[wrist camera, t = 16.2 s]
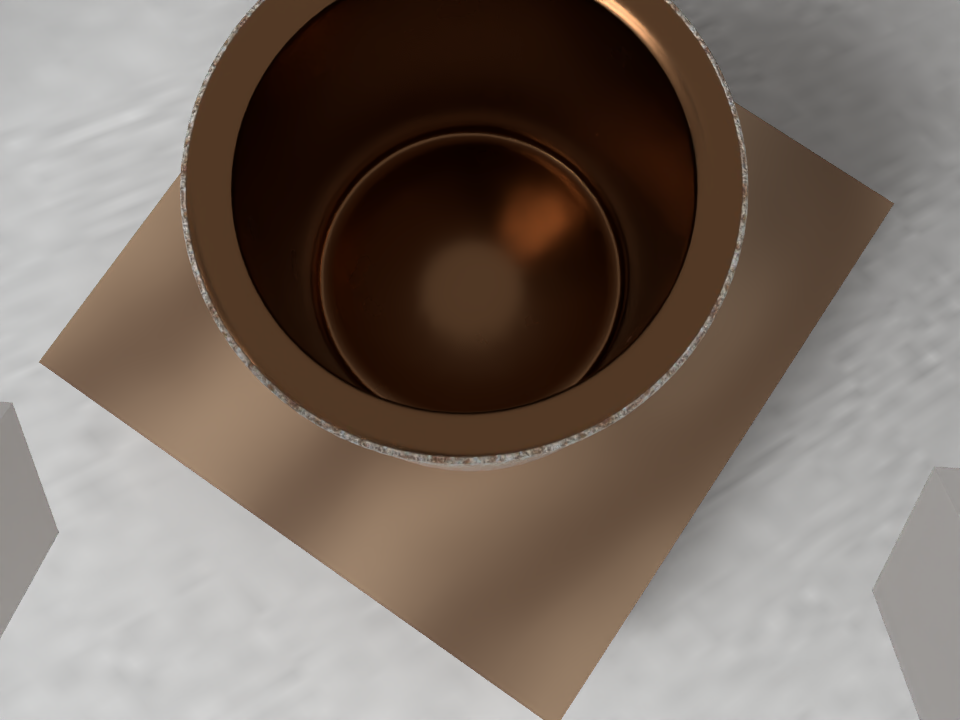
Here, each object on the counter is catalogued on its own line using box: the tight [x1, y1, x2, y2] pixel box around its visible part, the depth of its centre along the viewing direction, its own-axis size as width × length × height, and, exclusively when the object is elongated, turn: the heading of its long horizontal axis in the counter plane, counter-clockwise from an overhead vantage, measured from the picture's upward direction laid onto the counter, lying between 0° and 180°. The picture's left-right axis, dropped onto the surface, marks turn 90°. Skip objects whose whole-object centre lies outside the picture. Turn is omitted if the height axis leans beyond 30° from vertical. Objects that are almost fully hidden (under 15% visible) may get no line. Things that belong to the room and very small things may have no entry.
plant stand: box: [39, 102, 894, 720], centre depth 29 cm, size 18×18×5 cm
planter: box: [180, 0, 748, 471], centre depth 21 cm, size 11×11×10 cm
